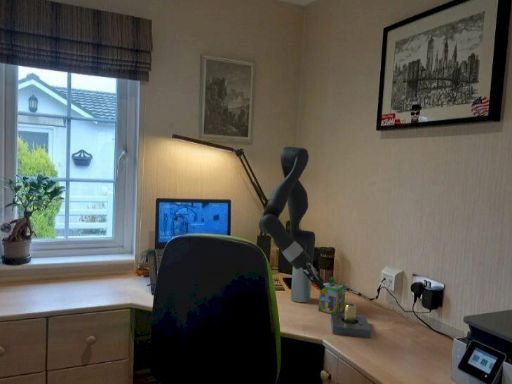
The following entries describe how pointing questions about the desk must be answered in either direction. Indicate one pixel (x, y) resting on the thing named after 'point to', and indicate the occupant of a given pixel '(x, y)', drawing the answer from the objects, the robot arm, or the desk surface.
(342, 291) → the chalk box
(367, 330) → the jig plate
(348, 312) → the brass sleeve
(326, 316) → the desk surface
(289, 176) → the robot arm
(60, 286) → the desk surface
